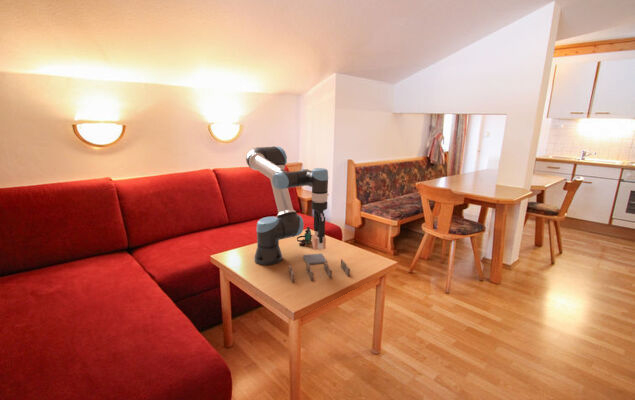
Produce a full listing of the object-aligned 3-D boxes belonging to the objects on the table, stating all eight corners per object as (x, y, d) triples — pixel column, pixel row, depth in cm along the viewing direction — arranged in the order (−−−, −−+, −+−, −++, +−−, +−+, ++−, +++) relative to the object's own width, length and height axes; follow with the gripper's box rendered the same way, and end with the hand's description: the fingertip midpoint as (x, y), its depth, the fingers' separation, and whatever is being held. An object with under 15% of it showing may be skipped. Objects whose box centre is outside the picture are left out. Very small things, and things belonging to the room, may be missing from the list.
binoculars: (297, 226, 203) (312, 226, 201) (299, 242, 205) (314, 242, 203) (293, 231, 194) (309, 230, 192) (295, 247, 196) (311, 247, 194)
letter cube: (312, 245, 160) (312, 234, 159) (322, 244, 162) (323, 233, 160) (314, 249, 155) (314, 238, 154) (325, 248, 156) (325, 237, 155)
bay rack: (288, 271, 163) (288, 264, 162) (342, 266, 170) (342, 259, 169) (292, 282, 152) (292, 275, 151) (349, 276, 159) (350, 269, 158)
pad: (303, 256, 181) (303, 255, 181) (321, 255, 184) (321, 253, 184) (307, 265, 171) (307, 263, 171) (326, 263, 173) (327, 261, 173)
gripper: (332, 205, 145) (331, 253, 150) (322, 196, 162) (321, 239, 168) (316, 206, 143) (315, 254, 149) (307, 196, 160) (307, 240, 166)
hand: (318, 246), depth 158 cm, fingers closed on letter cube, 5 cm apart
